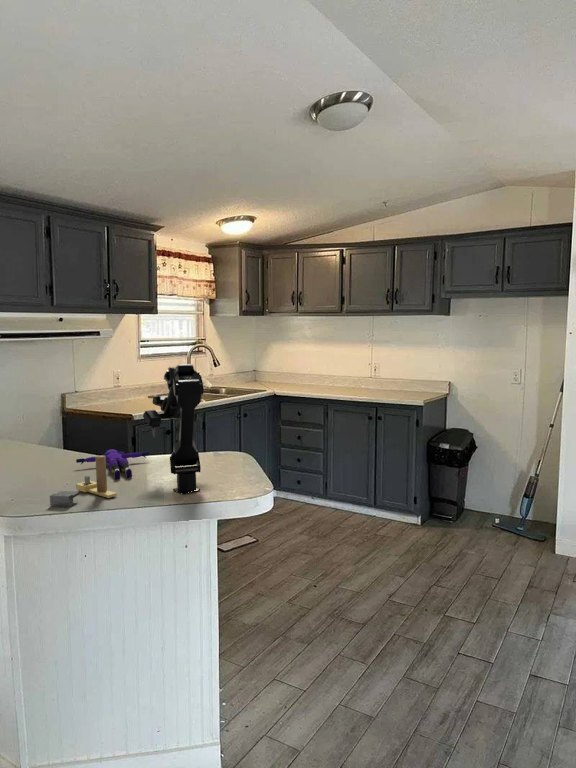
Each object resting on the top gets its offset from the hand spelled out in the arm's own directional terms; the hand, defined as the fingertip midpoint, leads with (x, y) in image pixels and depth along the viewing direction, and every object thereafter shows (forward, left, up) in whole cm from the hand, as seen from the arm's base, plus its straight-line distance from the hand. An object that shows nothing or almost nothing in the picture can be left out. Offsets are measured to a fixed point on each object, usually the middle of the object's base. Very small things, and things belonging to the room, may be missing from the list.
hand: (165, 435), depth 200 cm
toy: (+17, +11, -14) cm, 25 cm away
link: (-8, +29, -13) cm, 33 cm away
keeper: (-11, +40, -14) cm, 44 cm away
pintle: (-2, +30, -14) cm, 33 cm away
